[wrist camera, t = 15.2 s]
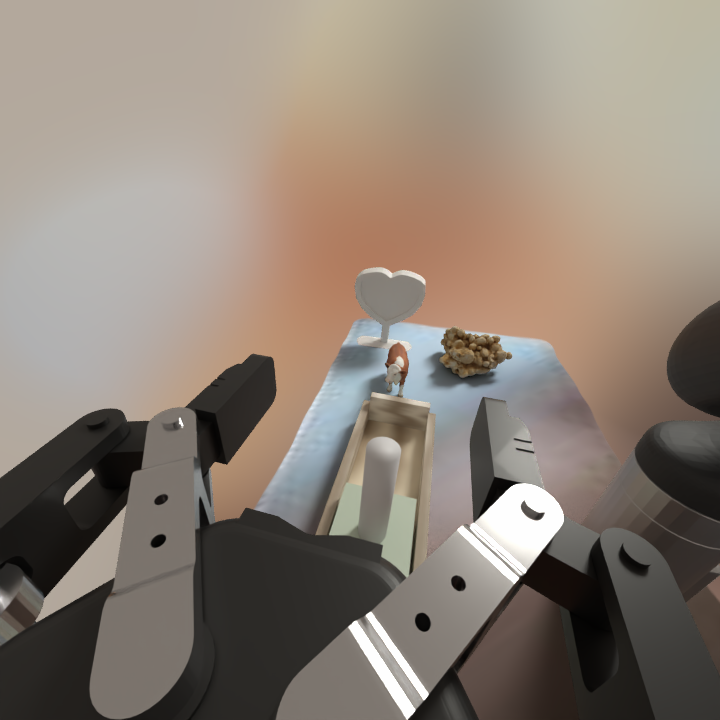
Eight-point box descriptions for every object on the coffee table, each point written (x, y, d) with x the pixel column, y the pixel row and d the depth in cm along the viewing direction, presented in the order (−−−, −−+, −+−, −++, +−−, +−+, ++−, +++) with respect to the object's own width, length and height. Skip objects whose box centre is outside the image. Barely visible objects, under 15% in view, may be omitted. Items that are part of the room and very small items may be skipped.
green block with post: (410, 524, 41) (436, 420, 32) (400, 618, 33) (430, 514, 24) (344, 507, 42) (350, 403, 33) (317, 593, 34) (316, 486, 25)
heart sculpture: (351, 343, 81) (355, 270, 71) (354, 334, 85) (359, 264, 76) (415, 352, 79) (428, 278, 70) (415, 342, 83) (428, 271, 74)
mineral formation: (439, 346, 82) (503, 353, 79) (436, 384, 73) (509, 393, 70) (443, 319, 77) (512, 325, 74) (440, 355, 67) (519, 364, 64)
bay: (431, 431, 57) (437, 404, 54) (410, 704, 28) (422, 680, 25) (362, 417, 59) (365, 390, 56) (279, 659, 30) (274, 632, 27)
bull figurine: (378, 405, 62) (382, 369, 58) (387, 367, 73) (391, 334, 69) (402, 409, 61) (408, 373, 57) (407, 370, 73) (412, 337, 68)
